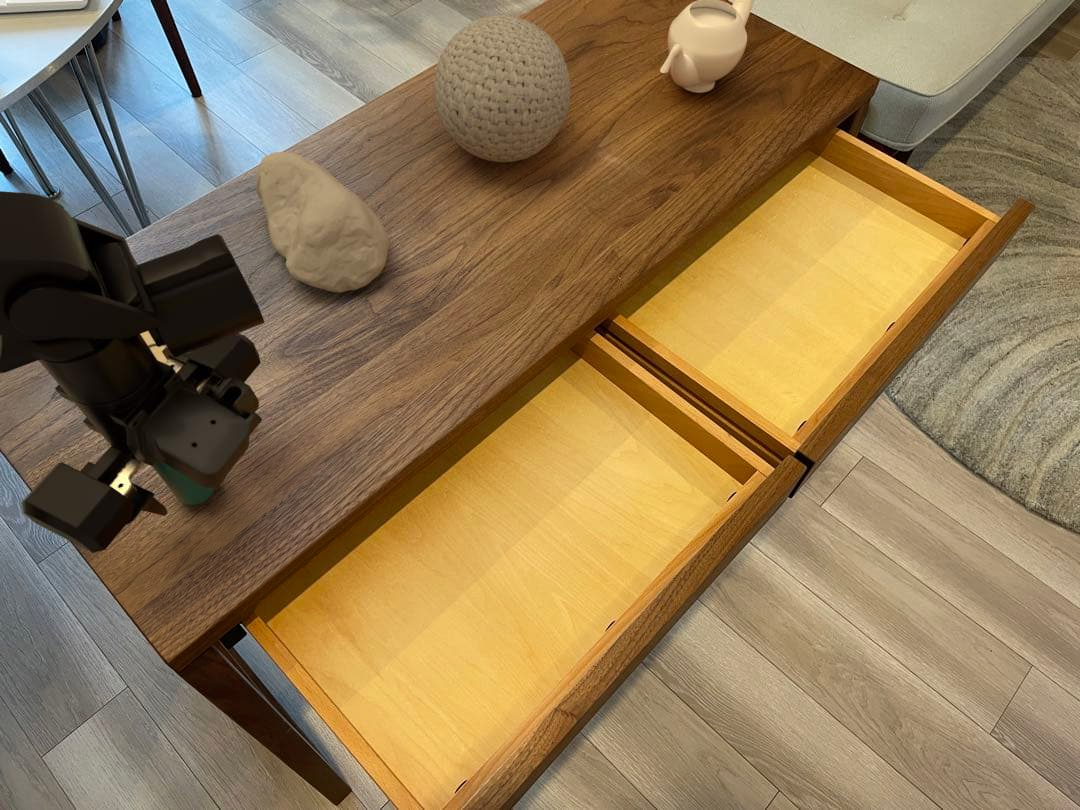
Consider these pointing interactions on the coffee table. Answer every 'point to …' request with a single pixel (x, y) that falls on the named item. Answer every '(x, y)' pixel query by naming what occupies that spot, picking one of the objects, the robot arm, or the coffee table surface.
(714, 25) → the teapot
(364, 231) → the decorative stone
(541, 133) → the decorative ball
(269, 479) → the coffee table surface
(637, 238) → the coffee table surface
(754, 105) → the coffee table surface
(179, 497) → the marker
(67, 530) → the robot arm
